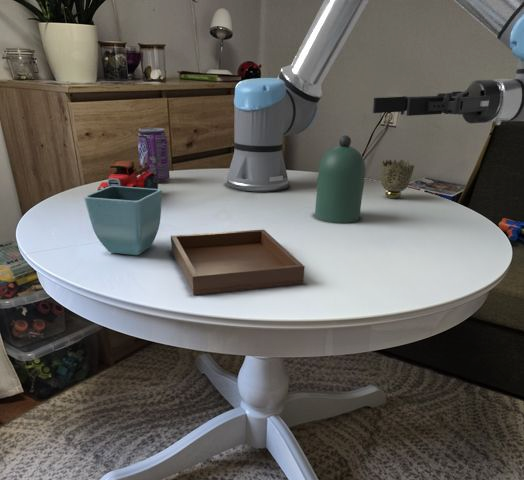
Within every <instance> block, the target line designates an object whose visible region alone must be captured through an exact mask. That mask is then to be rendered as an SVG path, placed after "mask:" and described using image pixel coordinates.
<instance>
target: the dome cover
mask: <svg viewBox="0 0 524 480" xmlns="http://www.w3.org/2000/svg"><path fill="white" fill-rule="evenodd" d="M351 143H352V139H351V137H350V136H348V135H342V136H341V137H340V138H339V141H338V144H339V145H338V146H334V147H332V148H331V149H329V150H328V151H327V152H326V153H324V155H323V156H322V158H321V160H320V162H319V165H318V174H317V184H316V185H317V186H316V195H315V196H316V197H315V207H314V208H315V209H314V217H315V218H316V219H318V220H320V221H323V222H327V223H331V224H332V223H334V224H351V223H355V222H358V221H359V220H360V217H361V216H360V215H361V207H362V200H363V192H364V185H365V179H366V178H365V177H366V162H365V159H364V157H363V155H362V154H361V153H360V151H358V150H357V149H356V148H354V147H352V146H351Z"/></svg>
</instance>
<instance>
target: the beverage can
mask: <svg viewBox="0 0 524 480" xmlns="http://www.w3.org/2000/svg"><path fill="white" fill-rule="evenodd" d="M168 147H169V146H168V137H167V135H166V132H165V128H162V127H141V128H138V133H137V148H138V149H137V150H138V159H139V165H142V168H143V167H145V163H144V162H147V165H149V166H150V169H148V172H153V173H154V174H155V176H156V177H157V180H158V184H159V183H164V182H166V181H167V180H169V179H170V176H171V175H170V163H169V161H170V159H169V148H168ZM143 173H145V172H143Z"/></svg>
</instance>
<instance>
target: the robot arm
mask: <svg viewBox="0 0 524 480" xmlns="http://www.w3.org/2000/svg"><path fill="white" fill-rule="evenodd" d="M369 2H370V0H323V2H322V4H321V6H320V8H319V10H318V11H317V14H316V16H315V18H314V20H313V21H312V23H311V25H310V27H309V29H308V31H307V33H306V35H305V37H304V39H303V41H302V43H301V45H300V47H299V49H298V51H297V53H296V54H295V56H294V59H293V60H292V62H291V64H289V65H286V66H283V67H282V68H281V70H280V72H279V74H278V76H277V78H276V77H259V78H257V77H256V78H249V79H243V80H241V81H239V82H238V83H237V84H236V85H235V88H234V98H233V105H234V106H233V107H234V108H233V109H234V112H233V114H234V116H233V117H234V118H233V119H234V120H233V121H234V126H233V127H234V128H233V129H234V130H233V131H234V135H233V137H234V139H233V140H234V149H233V150H234V152H233V156H232V159H231V163H230V166H229V169H228V172H227V175H226V176H227V177H226V185H227V186H228V187H229V188H232V189H235V190H240V191H245V192H259V193H260V192H261V193H263V192H264V193H265V192H278V191H283V190H285V189H286V188H288V186H289V175H288V172H287V168H286V164H285V160H284V155H283V144H284V143H283V142H284V137H287V136H294V135H298V134H300V133H303V132H305V131H306V130H308V129H309V128H310V127H311V126H312V125H313V123H314V122H315V120H316V118H317V115H318V111H319V106H318V104H319V102H320V100H321V98H322V96H323V89H322V88H323V87H322V84H323V82H324V80H325V79H326V77H327V76H328V74H329V72H330V70H331V68H332V67H333V65H334V63H335V61H336V60H337V58H338V56H339V54H340V52H342V51H341V50H342V49H343V48H344V45H345V43H346V42H347V40H348V38H349V37H350V36H351V33H352V31H353V30H354V28H355V26H356V25H357V22H358V21H359V19H360V17H361V16H362V14H363V12H364V11H365V8H366V7H367V6H368V3H369ZM453 2H455V3H456V4H457V5H458V6H459V7H460V8H462V9H463V10H464V11H465V12H466V13H468V14H469V15H470V16H471V17H472V18H473V19H474V20H476V21H477V22H478V23H479V24H480V25H481V26H483V28H485V29H486V30H487V31H489V32H490V33H491V34H492V35H493V36H494V37H496V39H498V40H499V41H500V42H501V43H502V44H503V45H504V46H505V47H506V48H508V49H509V50H510V51H511V52H512V54H513V55H514V57H515V58H517V59H518V61H517V69H516V71H515V73H516V74H515V78H495V79H477V80H474V81H472V82H471V83H469V84H468V86H467V87H466V89H465V90H464V91H452V92H443V93H442V92H441V93H437V95H423V96H419V95H418V96H405V95H403V96H389V97H388V96H387V97H386V96H385V97H384V96H383V97H373V107H372V113H373V114H383V113H384V114H385V113H386V114H387V113H400V115H401V116H403V115H406V116H407V117H410V116H411V117H413V116H427V115H428V116H430V115H432V116H433V115H442V114H445V115H461V116H462V118H463V120H464V121H466V123H468V124H485V123H494V124H495V126H500V125H501V124H502V122H521V121H523V122H524V0H453ZM405 112H406V113H405Z"/></svg>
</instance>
